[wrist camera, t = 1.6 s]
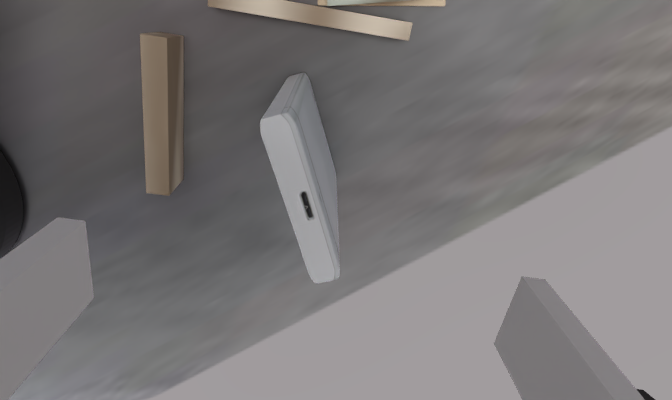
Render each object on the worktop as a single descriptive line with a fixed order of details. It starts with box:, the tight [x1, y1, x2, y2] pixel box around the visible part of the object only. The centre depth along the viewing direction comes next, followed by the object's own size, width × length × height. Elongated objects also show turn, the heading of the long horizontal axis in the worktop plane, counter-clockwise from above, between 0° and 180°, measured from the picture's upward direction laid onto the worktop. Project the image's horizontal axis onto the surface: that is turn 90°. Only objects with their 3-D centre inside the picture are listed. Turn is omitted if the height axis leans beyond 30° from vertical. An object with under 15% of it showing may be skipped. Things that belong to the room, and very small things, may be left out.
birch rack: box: [140, 0, 412, 196], centre depth 26 cm, size 16×13×3 cm
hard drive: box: [260, 73, 340, 284], centre depth 23 cm, size 2×8×12 cm, turn 15°
